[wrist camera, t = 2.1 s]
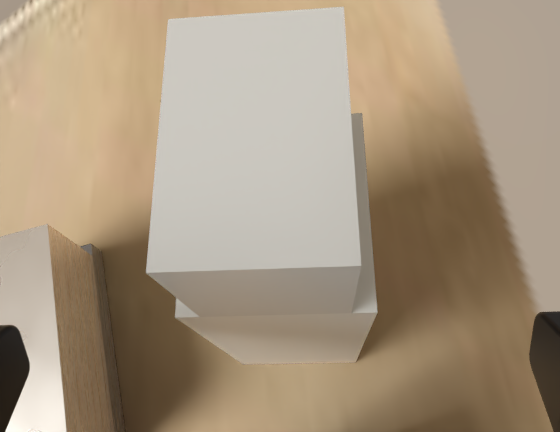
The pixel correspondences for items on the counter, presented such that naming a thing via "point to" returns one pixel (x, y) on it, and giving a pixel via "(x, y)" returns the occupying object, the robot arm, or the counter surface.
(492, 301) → the counter surface
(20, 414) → the mounting plate
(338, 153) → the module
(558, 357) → the robot arm
